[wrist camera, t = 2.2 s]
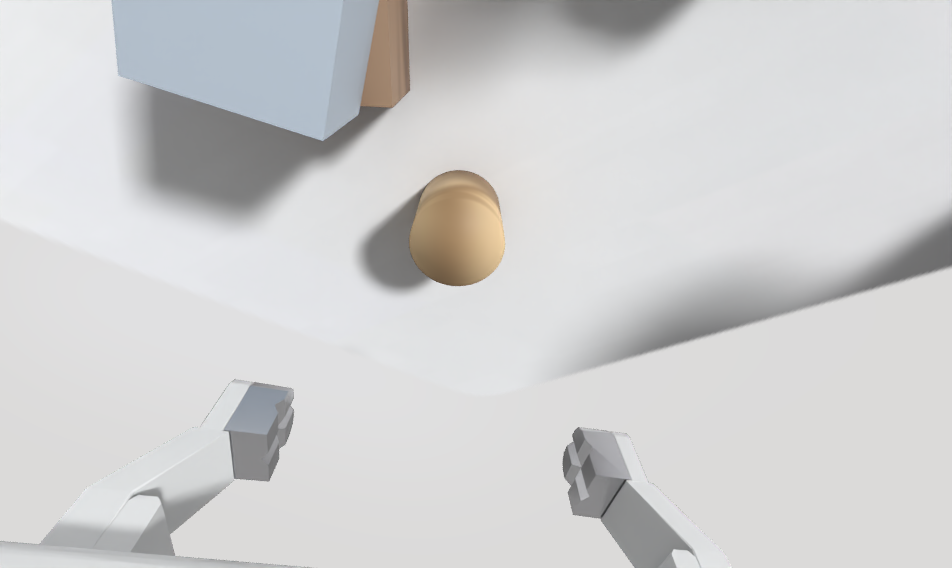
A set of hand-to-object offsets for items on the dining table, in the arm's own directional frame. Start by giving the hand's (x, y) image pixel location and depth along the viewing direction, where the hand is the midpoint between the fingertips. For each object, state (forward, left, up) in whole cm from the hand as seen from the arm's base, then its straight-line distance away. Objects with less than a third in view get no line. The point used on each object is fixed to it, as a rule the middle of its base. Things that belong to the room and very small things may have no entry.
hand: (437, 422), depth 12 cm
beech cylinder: (0, 0, -17) cm, 17 cm away
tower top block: (+8, -9, -11) cm, 16 cm away
